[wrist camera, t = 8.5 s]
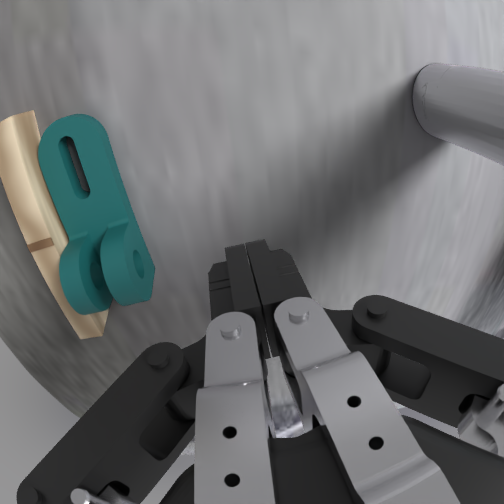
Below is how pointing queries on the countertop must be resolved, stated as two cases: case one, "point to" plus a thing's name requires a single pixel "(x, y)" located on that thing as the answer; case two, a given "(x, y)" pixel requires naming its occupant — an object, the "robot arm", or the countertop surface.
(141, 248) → the bracket
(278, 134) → the countertop surface
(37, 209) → the batten
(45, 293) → the countertop surface
